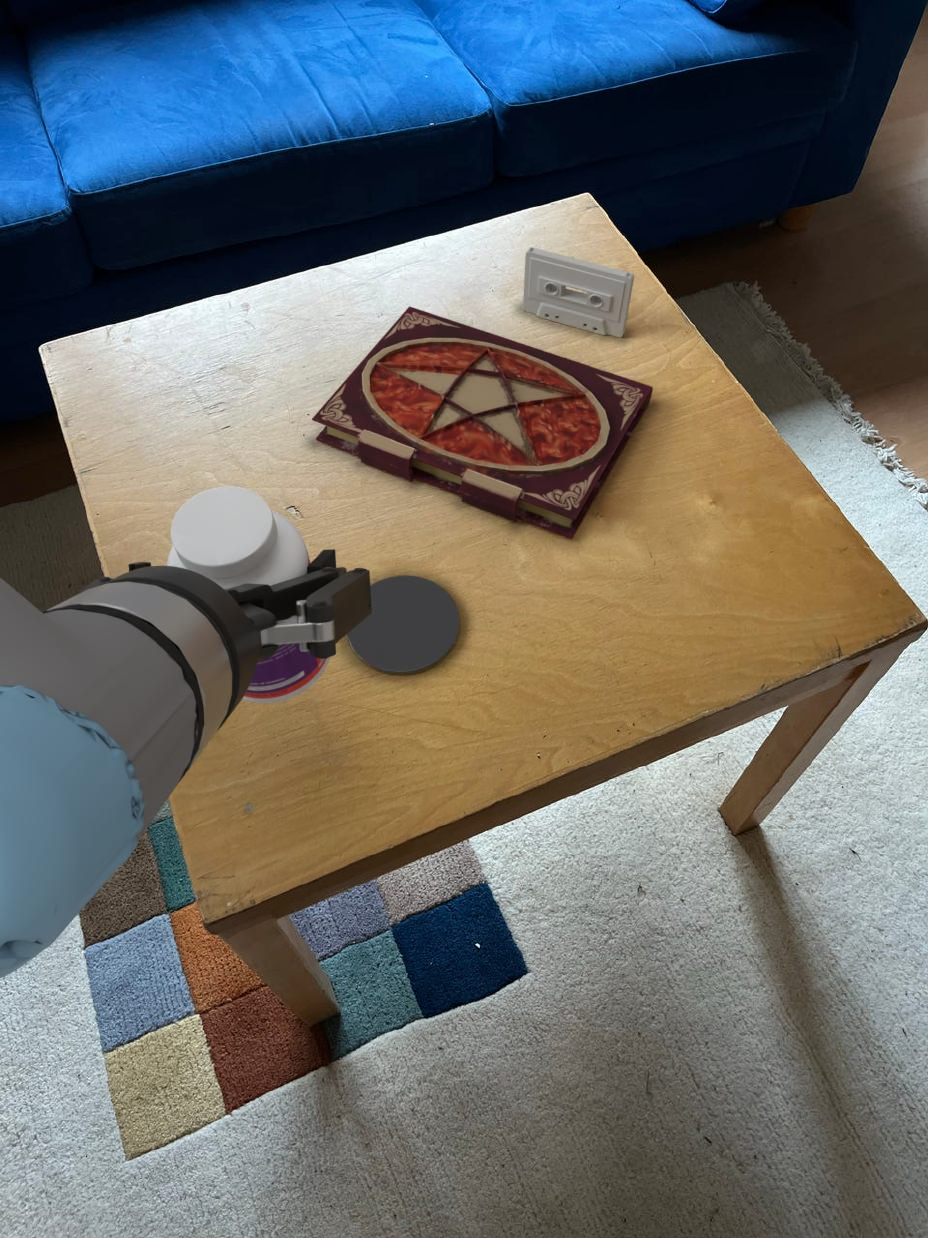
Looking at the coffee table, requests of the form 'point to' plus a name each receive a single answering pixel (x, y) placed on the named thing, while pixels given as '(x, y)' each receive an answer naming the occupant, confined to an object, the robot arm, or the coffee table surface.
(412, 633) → the coaster
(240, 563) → the pill bottle
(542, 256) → the cassette
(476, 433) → the book
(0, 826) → the robot arm
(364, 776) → the coffee table surface
